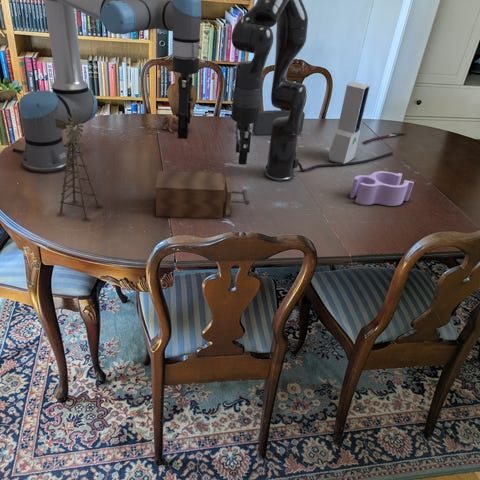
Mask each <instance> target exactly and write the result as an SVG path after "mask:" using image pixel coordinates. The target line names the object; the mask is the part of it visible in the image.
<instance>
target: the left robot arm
mask: <svg viewBox="0 0 480 480" xmlns="http://www.w3.org/2000/svg"><path fill="white" fill-rule="evenodd" d="M43 2H44V3H43V4H44V9H45V15H46V16H45V17H46V22H47V29H48V35H49V36H48V37H49V43H50V50H51V51H50V52H51V57H52V64H53V71H54V77H55V80H54V82H53V83H52V84H51V89H52V91H51V90H34V91H31V92H28V93H25V94H24V95H22V97H21V98H20V99H19V103H18V105H19V116H20V119H21V125H22V132H23V137H24V148H23V150H22V149H18V148H15V147H13V148H12V151H13V152H16V153H20V154H22V158H21V159H22V160H21V161H22V166H23V168H24V169H25V170H27V171H29V172H33V173H39V174H46V173H56V172H61V171H63V170H66V161H67V155H66V154H67V153H68V148H67V147H64V146H63V145H65V143H64V140H63V130H67V129H69V127H68V128H66V127H65V128H59V127H56V121H55V119H58V120H61V121H64V122H66V123H67V125H68V124H69V123H68V122H67V120H68V121H70V119H69V117H68V114H69V116H70V118H72V116H73V109H74V115H75V111H76V115H77V113H78V116H76V118H77V119H78V117H79V119H80V118H81V116H82V115H83V117H82V118H81V120H80V121H79V119H78V121H79V122H81V121H82V120H83V123H81V124H80V125H84V124H85V123H87V122H89V121H91V120H92V119H94V117H96V114H97V112H98V100H97V96H96V95H94V91H93V90H92V89H90V88H89V84H88V83H87V82H86V81H85V80H84V79H83V70H82V61H81V53H80V43H79V36H78V28H77V19H76V11H79V12H81V13H82V14H85V15H87V16H89V17H91V18H93V19H94V20H95V19H96V20H97V21H99V22H101V23H102V26H103V27H105V29H106V31H108V32H109V33H111V34H113V35H126V34H129V33H136V32H142V31H150V30H164V31H168V32H172V40H171V41H172V42H171V43H172V44H171V45H172V47H171V50H172V51H171V54H172V55H173V56H172V59H171V61H172V63H171V64H172V65H171V68H172V71H174V72H175V73H178V74H180V76H178V78H177V85H178V91H177V92H178V107H177V108H178V110H177V113H175V116H176V117H178V124H177V139H182V140H188V133H189V132H188V130H189V127H188V126H189V124H188V123H190V109H192V108H191V107H192V103H191V102H194V98H193V97H192V87H193V81H194V80H193V79H194V78H193V77H192V75H195V74H198V73H199V72H200V59H199V57H200V51H201V50H202V49H203V45H201V44H200V43H201V26H202V25H201V24H202V15H203V14H202V0H43ZM75 10H76V11H75ZM78 109H79V112H78ZM70 111H71V113H72V116H71V113H70ZM80 112H81V114H80ZM79 114H80V116H79ZM74 118H75V116H73V120H74ZM73 120H72V121H73ZM78 121H76V122H78ZM70 122H71V121H70ZM76 122H74V123H72V122H71V123H72V124H74V125H75V127H77V123H76ZM79 122H78V123H79ZM190 124H191V123H190ZM70 158H71V157H69V159H70ZM71 165H72V159H71V160H70V161H69V164H68V167H70V166H71Z"/></svg>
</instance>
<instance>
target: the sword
mask: <svg viewBox="0 0 480 480" xmlns="http://www.w3.org/2000/svg"><path fill="white" fill-rule="evenodd" d="M406 134H408V132H407V133H403V134H401V133H400V132H392V133H389V134H387V135H381V136H378V137H373V138H370V139H366V140H365V141H363V145H365V144H367V143H370V142H374V141H378V140H381V139H386V138H391V137H397V136H399V135H406Z"/></svg>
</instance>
